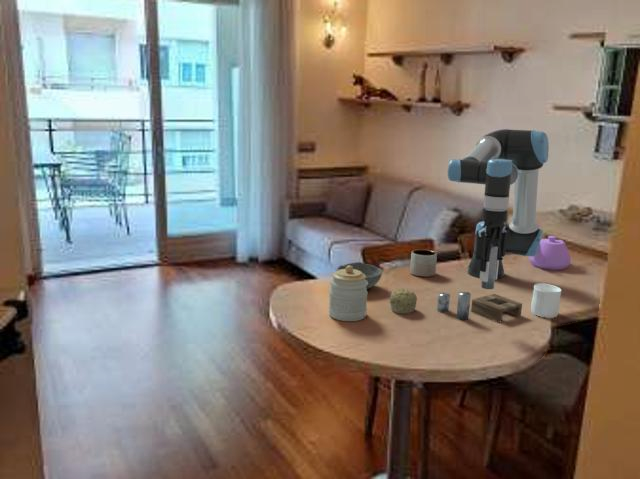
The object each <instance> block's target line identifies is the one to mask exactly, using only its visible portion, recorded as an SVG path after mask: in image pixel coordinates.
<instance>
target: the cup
mask: <svg viewBox="0 0 640 479" xmlns="http://www.w3.org/2000/svg"><path fill="white" fill-rule="evenodd" d="M562 293H563V292H562V289H561V288H560V287H559V286H556V285H553V284H549V283H543V282H542V283H541V282H539V283H535V284H534V285H533V293H532V298H531V303H530V311H531V313H532V314H533V315H534V316H536V315H537V316H536V317H538V316H540V317H539V318H543V317H546V318H545V319H554V317H555V318H556V317H558V315H559V310H560V301H561V295H562Z"/></svg>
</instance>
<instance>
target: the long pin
mask: <svg viewBox="0 0 640 479" xmlns="http://www.w3.org/2000/svg"><path fill="white" fill-rule="evenodd" d="M497 253H498V246H497V245H493V244H492V245H491V250H490V254H489V258H488V262H490V263H489V273H488V282H484V281H481V286H480V287H481V288H482V289H485V290H493V289H494V288H495V282H496V280H495V273H496V263H497Z"/></svg>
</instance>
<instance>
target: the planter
mask: <svg viewBox="0 0 640 479" xmlns="http://www.w3.org/2000/svg"><path fill="white" fill-rule="evenodd" d="M437 256H438V253H437V251H434V250H432V249H426V248H425V249H424V248H423V249H422V248H419V249H413V250H411V254H410V266H409V272H410V274H411V275H413V276H415V277H418V276H420V278H431V276H432V277H434V276H435V275H436V272H437V259H438V258H437Z"/></svg>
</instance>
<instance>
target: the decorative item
mask: <svg viewBox="0 0 640 479" xmlns="http://www.w3.org/2000/svg"><path fill="white" fill-rule="evenodd" d="M417 297H418V296H417V295H416V293H415V292H414V291H412V290H409V289H405V288H400V289H398V290H397V289H396V290H393V291H392V292H391V295H390V299H389V303H390V309H391V310H392V312H394V313H396V314H411V313H413V312H415V309H416V307H417V302H418V298H417Z"/></svg>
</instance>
